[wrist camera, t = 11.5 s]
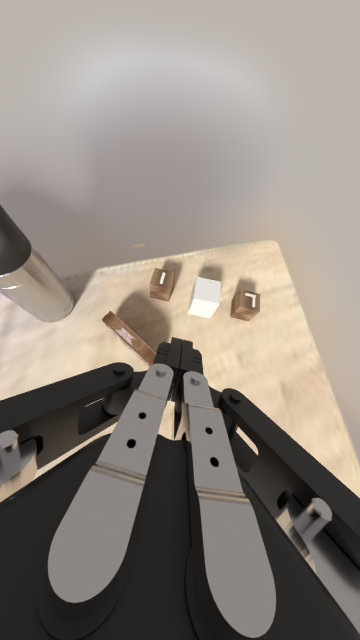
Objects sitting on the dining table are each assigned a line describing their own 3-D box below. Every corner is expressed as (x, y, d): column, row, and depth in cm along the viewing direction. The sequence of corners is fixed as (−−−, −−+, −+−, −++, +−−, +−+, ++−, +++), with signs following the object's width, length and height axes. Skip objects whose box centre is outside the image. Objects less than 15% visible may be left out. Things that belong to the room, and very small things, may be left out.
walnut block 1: (150, 297, 49) (149, 283, 43) (155, 281, 51) (155, 266, 45) (168, 301, 49) (170, 288, 43) (172, 285, 51) (175, 271, 45)
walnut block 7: (230, 316, 49) (239, 306, 44) (231, 300, 51) (241, 288, 46) (248, 321, 49) (260, 311, 44) (249, 304, 52) (260, 293, 46)
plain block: (187, 313, 48) (193, 298, 41) (190, 294, 51) (196, 276, 43) (210, 318, 48) (219, 303, 41) (211, 298, 51) (221, 281, 44)
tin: (160, 361, 42) (161, 352, 35) (150, 371, 41) (150, 365, 33) (115, 319, 45) (107, 303, 37) (105, 328, 44) (94, 313, 36)
